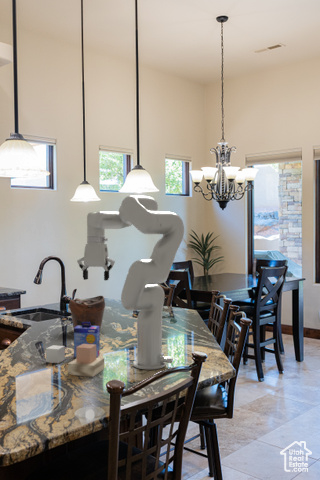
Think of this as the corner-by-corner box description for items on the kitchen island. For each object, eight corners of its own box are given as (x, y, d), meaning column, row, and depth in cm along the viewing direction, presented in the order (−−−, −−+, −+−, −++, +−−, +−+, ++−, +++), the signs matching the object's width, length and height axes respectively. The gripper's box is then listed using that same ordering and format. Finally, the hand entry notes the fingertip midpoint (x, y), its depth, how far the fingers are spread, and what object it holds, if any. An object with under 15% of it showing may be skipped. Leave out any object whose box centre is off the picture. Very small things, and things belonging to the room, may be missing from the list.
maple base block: (104, 368, 180) (104, 358, 180) (93, 376, 171) (93, 365, 171) (79, 366, 183) (79, 356, 183) (67, 374, 174) (67, 363, 174)
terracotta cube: (96, 359, 179) (96, 344, 179) (90, 363, 174) (90, 348, 173) (82, 358, 180) (82, 343, 180) (76, 362, 175) (76, 347, 175)
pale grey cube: (64, 359, 194) (64, 346, 193) (58, 363, 188) (58, 349, 188) (52, 358, 195) (52, 345, 195) (45, 362, 190) (45, 348, 190)
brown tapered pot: (60, 333, 242) (60, 297, 241) (84, 326, 260) (84, 293, 259) (89, 337, 234) (89, 300, 233) (111, 330, 251) (112, 295, 251)
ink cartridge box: (73, 357, 196) (73, 322, 196) (76, 354, 202) (76, 319, 202) (97, 358, 196) (97, 322, 195) (99, 354, 201) (99, 320, 201)
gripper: (117, 240, 211) (117, 279, 211) (81, 240, 215) (81, 278, 216) (111, 241, 203) (111, 281, 204) (73, 240, 208) (74, 280, 209)
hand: (95, 279), depth 210 cm, fingers open, 9 cm apart
